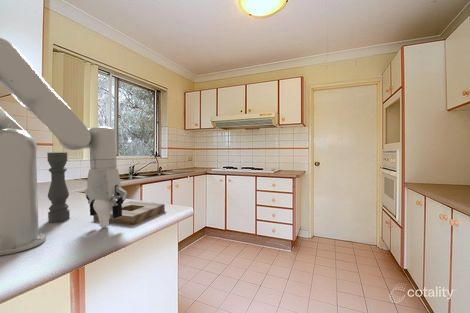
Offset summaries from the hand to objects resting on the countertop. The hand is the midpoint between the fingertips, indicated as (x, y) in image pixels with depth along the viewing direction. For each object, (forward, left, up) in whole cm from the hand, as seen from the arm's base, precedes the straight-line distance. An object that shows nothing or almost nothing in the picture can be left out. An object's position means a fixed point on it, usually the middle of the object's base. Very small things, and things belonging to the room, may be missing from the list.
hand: (106, 215), depth 74 cm
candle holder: (0, +23, -4) cm, 24 cm away
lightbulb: (0, 0, -4) cm, 4 cm away
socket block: (+13, +2, -4) cm, 14 cm away
